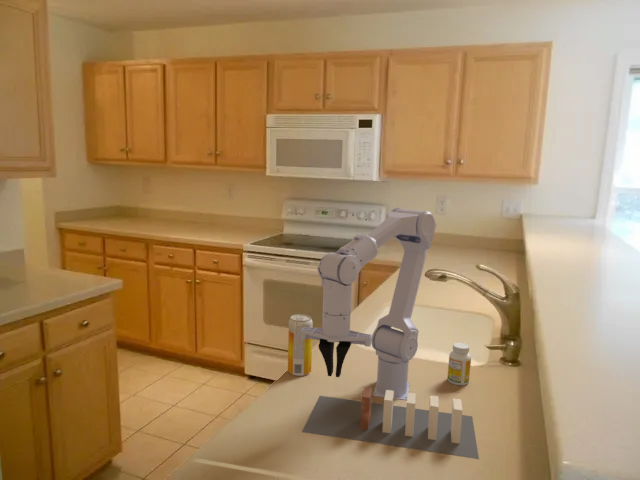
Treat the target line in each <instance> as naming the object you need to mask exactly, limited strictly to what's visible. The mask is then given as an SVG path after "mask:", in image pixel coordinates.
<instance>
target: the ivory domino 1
mask: <svg viewBox="0 0 640 480" xmlns="http://www.w3.org/2000/svg"><path fill="white" fill-rule="evenodd" d="M383 398H384V399H383V404H384V411H383V430H382V432H385V433H390V432H391V426H392V416H393V406H394V399H393V398H394V391H392V390H386V393H385V397H383Z"/></svg>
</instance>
